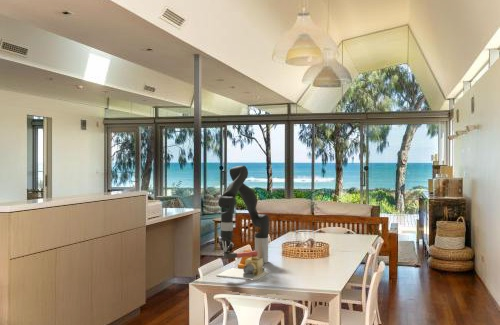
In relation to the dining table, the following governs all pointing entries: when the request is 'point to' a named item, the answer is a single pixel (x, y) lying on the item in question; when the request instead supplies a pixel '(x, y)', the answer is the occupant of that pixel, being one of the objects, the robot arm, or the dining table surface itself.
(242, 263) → the bracket
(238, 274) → the base plate
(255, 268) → the valve
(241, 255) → the lever
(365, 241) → the dining table surface
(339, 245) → the dining table surface
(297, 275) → the dining table surface
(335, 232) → the dining table surface
